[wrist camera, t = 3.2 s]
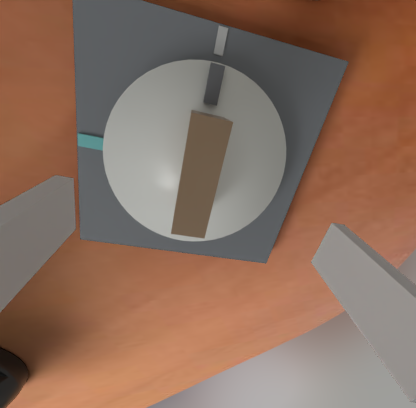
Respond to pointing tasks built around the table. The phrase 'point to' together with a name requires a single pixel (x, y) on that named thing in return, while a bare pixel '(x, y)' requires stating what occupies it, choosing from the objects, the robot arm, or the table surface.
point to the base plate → (176, 51)
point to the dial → (194, 150)
